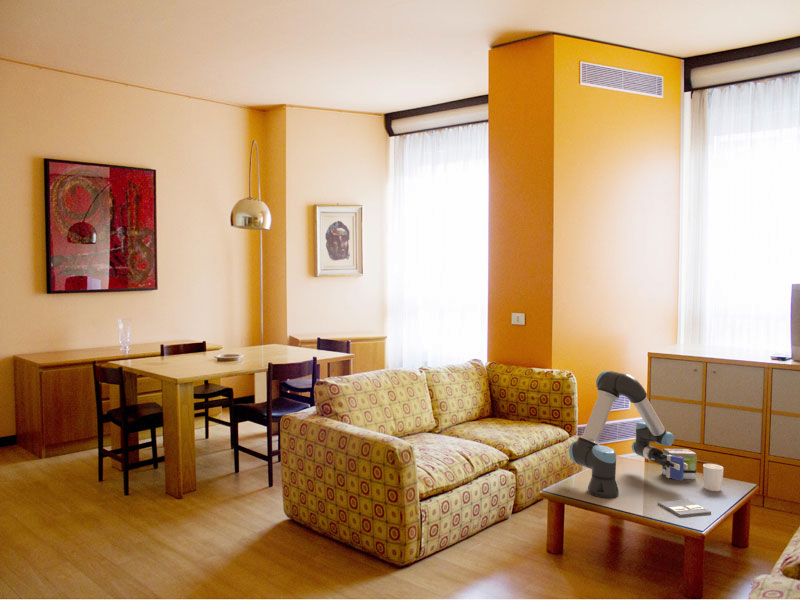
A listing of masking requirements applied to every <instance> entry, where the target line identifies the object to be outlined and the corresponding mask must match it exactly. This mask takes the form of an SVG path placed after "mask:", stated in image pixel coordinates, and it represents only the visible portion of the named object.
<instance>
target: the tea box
mask: <svg viewBox="0 0 800 600" xmlns="http://www.w3.org/2000/svg"><path fill="white" fill-rule="evenodd" d="M662 452H663V453H664V454H666V455H674V456H678V457H679V456H681V457H683V458H684V463H686V464H688V469H687V470H686V469H684V472H683V480H696V479H697V477H696V476H697V464H698V463H697V462H698V461H697V460H698V454H697V453H696V452H694V451H692V450H690V449H687V448H663V450H662ZM666 467H667V465H666V466H663V465H661V474H662V473H663V474H662V475H664V476H665V475H666Z"/></svg>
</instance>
